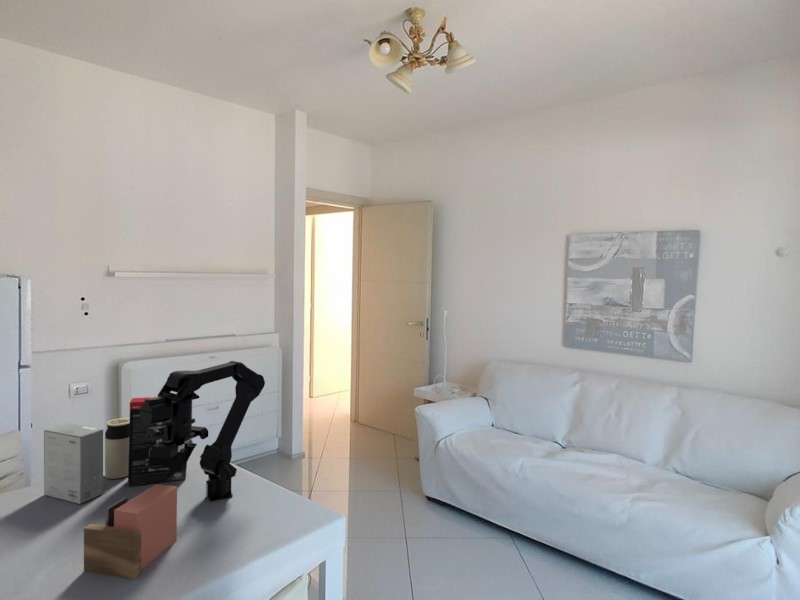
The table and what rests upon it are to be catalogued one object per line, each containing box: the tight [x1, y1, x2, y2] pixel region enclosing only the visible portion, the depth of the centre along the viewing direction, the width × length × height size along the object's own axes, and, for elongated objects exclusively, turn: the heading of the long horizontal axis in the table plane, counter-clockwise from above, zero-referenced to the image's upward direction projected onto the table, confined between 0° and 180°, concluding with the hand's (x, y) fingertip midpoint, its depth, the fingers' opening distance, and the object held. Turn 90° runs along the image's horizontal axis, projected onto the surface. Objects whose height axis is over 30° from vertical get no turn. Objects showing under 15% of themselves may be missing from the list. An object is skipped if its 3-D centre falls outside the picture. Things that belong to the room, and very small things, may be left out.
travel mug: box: [104, 417, 130, 480], centre depth 159 cm, size 8×8×18 cm
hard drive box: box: [43, 423, 104, 505], centre depth 144 cm, size 16×8×20 cm, turn 71°
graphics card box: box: [127, 396, 188, 486], centre depth 156 cm, size 17×7×27 cm, turn 114°
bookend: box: [105, 496, 129, 527], centre depth 113 cm, size 6×5×14 cm
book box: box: [114, 483, 178, 571], centre depth 115 cm, size 14×6×14 cm, turn 170°
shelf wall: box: [83, 523, 142, 580], centre depth 108 cm, size 2×13×10 cm, turn 80°
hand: (180, 471), depth 135 cm, fingers closed
